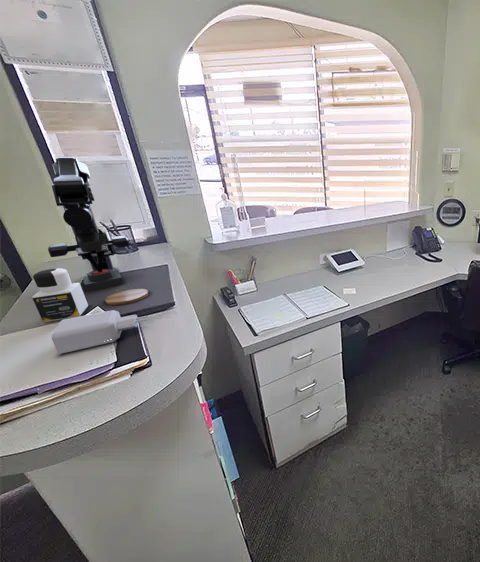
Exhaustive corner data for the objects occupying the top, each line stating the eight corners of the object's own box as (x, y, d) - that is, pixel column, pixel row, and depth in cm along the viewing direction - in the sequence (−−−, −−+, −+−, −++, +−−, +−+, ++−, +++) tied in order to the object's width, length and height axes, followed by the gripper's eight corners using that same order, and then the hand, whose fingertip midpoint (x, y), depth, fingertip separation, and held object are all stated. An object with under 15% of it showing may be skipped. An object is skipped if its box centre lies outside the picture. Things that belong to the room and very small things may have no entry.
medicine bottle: (42, 323, 76) (22, 277, 71) (54, 311, 82) (36, 268, 77) (80, 316, 79) (62, 272, 75) (89, 306, 85) (73, 264, 80)
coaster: (104, 297, 90) (103, 295, 90) (145, 288, 97) (144, 286, 96) (107, 308, 83) (106, 305, 83) (151, 297, 90) (150, 295, 89)
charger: (148, 335, 70) (59, 356, 62) (150, 319, 77) (71, 336, 70) (142, 317, 68) (49, 336, 61) (145, 302, 75) (63, 317, 68)
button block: (85, 283, 102) (81, 271, 100) (119, 276, 107) (116, 265, 106) (86, 291, 95) (82, 279, 93) (123, 283, 100) (119, 272, 99)
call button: (94, 276, 100) (92, 271, 100) (108, 274, 103) (106, 269, 102) (95, 279, 98) (93, 274, 97) (109, 276, 100) (107, 271, 99)
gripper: (38, 231, 83) (60, 285, 88) (124, 222, 94) (139, 270, 100) (40, 226, 90) (60, 276, 96) (120, 218, 102) (134, 263, 108)
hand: (100, 271), depth 100 cm, fingers closed, pressing on call button
